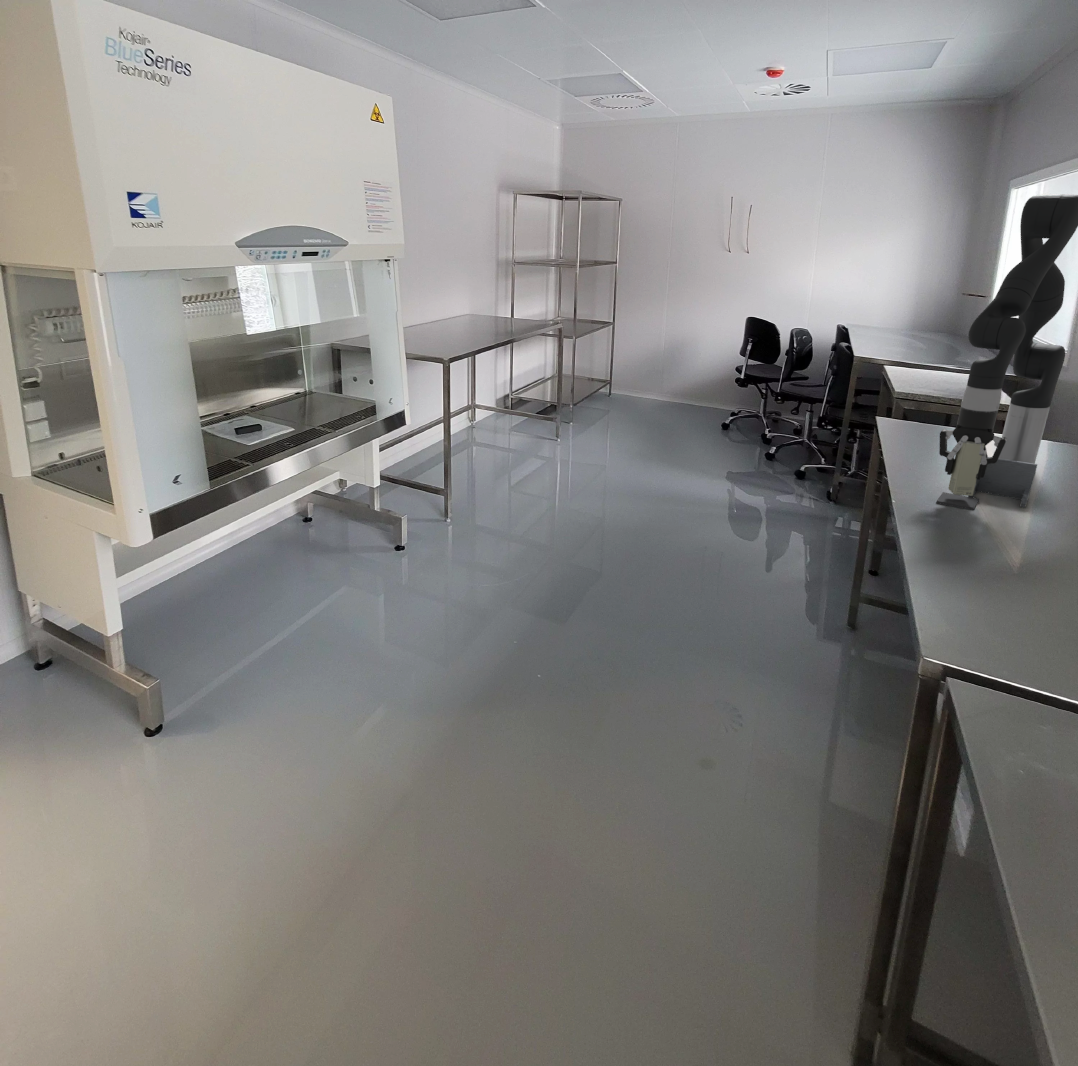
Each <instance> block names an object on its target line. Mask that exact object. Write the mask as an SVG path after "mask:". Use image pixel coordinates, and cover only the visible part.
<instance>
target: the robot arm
mask: <svg viewBox="0 0 1078 1066" xmlns="http://www.w3.org/2000/svg"><path fill="white" fill-rule="evenodd" d="M1077 229H1078V194H1072V193H1071V194H1068V193H1067V194H1057V193H1056V194H1037V195H1033V196H1031V197H1029V198H1028V199H1027V201H1026V202H1025V203H1024V206H1023V209H1022V212H1021V218H1020V251H1021V252H1020V253H1021V261H1020V262H1019V263H1017V264H1016V265H1015V266H1014V267H1013V268H1011V270H1010V271H1008V272H1007V274H1006V276H1005V278H1004V279H1003V280H1002V282H1001V285H1000V287H999V289H998V291H997V293H996V295H995V297H994V298H993V300H992V301H991V302H990V303H989V304H987V306H986V308H984V310H983V311H982V312H981V313H980V314H979V315H977V317H976V318H975V320H974V321H973V322H972V324H971V326H970V327H969V330H968V341H969V343H970V345H971V346H972V347H974V348H979V349H987V350H995V351H998V353H997V355H996V356H995V357H993V358H982V359H976V360H974V361H973V362H972V364H971V366H970V370H969V375H968V377H967V378H968V379H967V383H966V387H965V390H964V393H963V396H962V399H961V403H960V408H959V414H958V418H957V424H956V427H955V428H954V429H951V430H950V429H949V430H947V429H946V428H945V429H942V430H941V431H940V432H939V452H938V454H939V455H940V456H941V457H944V458H946V463H945V469H944V472H946V474H947V475H949V476H951V474H952V469H953V465H954V460H955V455H956V453H957V452H958V451H959V450H960V448H961V447H962V445H963V442H966V441H971V442H975V443H976V444H981V446H980V450H981V451H980V452H979V455H982V458H981V463H980V467H979V471H978V475H977V479H978V480H980V478H983V477H984V475H985V472H986V468H987V465H988V464H991V463H993V464H994V463H996V462H997V460H998V458H1000V459H1007V460H1013V461H1020V462H1027V463H1034V464H1036V460H1037V457H1038V454H1039V449H1040V446H1041V442H1042V438H1043V434H1044V432H1045V427H1046V422H1047V420H1048V416H1049V412H1050V408H1051V404H1052V401H1053V397H1054V394H1055V390H1056V387H1057V384H1058V380H1059V377H1060V375H1061V371H1062V369H1063V367H1064V366H1063V365H1064V362H1065V358H1066V349H1065V347H1064V346H1062V345H1057V344H1050V343H1037V342H1034V337H1035V336H1036V335H1037V334H1038V332H1039V331H1040V330H1041V329H1042V328H1043V327H1044V326H1045V325H1046V324H1048V323H1049V322H1050V321H1051V320H1052V319H1053V318H1054V317H1055V316H1056V315H1057V314H1058V313H1059V311H1060V310H1061V308H1062V306H1063V304H1064V297H1065V296H1064V295H1065V287H1066V286H1065V285H1066V281H1065V278H1064V277H1065V276H1064V275H1063V273H1062V271H1061V270H1060V268H1059V267H1058V266H1057V264H1056V263H1055V262H1056V260H1057V259H1058V257H1059V256H1060V254H1062V252H1063V250H1064V249H1065V247H1066V246H1067V244H1068V243H1069V241H1070V240H1071V239H1072V237H1073V235H1074V234H1075V232H1076V231H1077ZM1043 239H1047V240H1046V241H1045V242H1044V241H1043ZM1012 359H1013V363H1012V370H1013V371H1012V372H1013V374H1014V376H1016V377H1018V378H1021V379H1028V380H1029V379H1030V380H1036V381H1037V380H1038V381H1041V382H1040V383H1039V385H1037V386H1036V387H1033V388H1028V389H1022V390H1018V391H1015V392H1013V393H1012V395H1011V397H1010V403H1009V407H1008V410H1007V415H1006V418H1005V422H1004V427H1003V430H1002V434H1001V436H997V435H995V432H994V429H995V425H996V421H997V416H998V413H999V408H1000V404H1001V398H1002V391H1003V390H1002V389H1003V386H1004V382H1005V378H1006V375H1007V370H1008V368H1009V365H1010V363H1011V361H1012ZM951 436H953V438H954V440H955V441H956V445H954V447H953V448H952V450H951V451H949V450H948V440H949V439H951ZM992 441H993V442H994V443H993V445H994V447H996V448H995V450H994V452H993V455H992V456H988V452H987V447H986V446H987V445H988V444H990V443H991V442H992ZM982 443H984V444H985V445H984V449H983V445H982ZM988 457H989V458H988Z"/></svg>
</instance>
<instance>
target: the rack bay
mask: <svg viewBox="0 0 1078 1066" xmlns="http://www.w3.org/2000/svg"><path fill="white" fill-rule="evenodd" d="M989 457H990V456H988V458H989ZM980 463H981V462H980ZM1037 468H1038V464H1037V463H1035V464H1034V463H1027V462H1020V461H1013V460H1007V459H1000V458H998V460H997V462H996V463H994V464H993V463H991V464H988V465H987V468H986V472H985V475H984V477H983V478H980V480H978V479H976V484H975V488H974V492H973V496H967V497H973V498H975V495H976V494H977V493H983V494H989V495H994V496H1000V497H1004V498H1005V497H1006V498H1011V499H1016V500H1021V502H1020V506H1019V508H1023V509H1024V508H1026V505H1027V503H1028V500H1029V496H1030V494H1031V489H1032V487H1033V486H1032V485H1033V482H1034V479H1035V475H1036V473H1037V472H1036V471H1037Z"/></svg>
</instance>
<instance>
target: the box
mask: <svg viewBox="0 0 1078 1066" xmlns="http://www.w3.org/2000/svg"><path fill="white" fill-rule="evenodd" d="M982 445H983V449H984V445H985V444H984V443H982ZM980 446H981V444H976V443H975V442H971V441H966V442H963V445H962V447H961V448H960V450H959V451H958V452H957V453H956V455H955V456H954V458H955V460H954V465H953V469H952V473H951V475H950V479H949V483H948V487H947V488H948V490H949V491H950V492H951V494H955V495H962V496H967V497H968V496H973V492H974V488H975V484H976V479H977V475H978V471H979V467H980V462H981V458H982V455H979V452H980V451H981V450H980Z"/></svg>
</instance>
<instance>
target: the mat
mask: <svg viewBox="0 0 1078 1066" xmlns="http://www.w3.org/2000/svg"><path fill="white" fill-rule="evenodd" d="M979 501H980V498H979V497H968V496H966V495H955V494H953V493H952V492H951V493H949V492H944V491H943V492H942V493H941V494H940V495H939V497H938V499H937V500H936V501H935V503H936V504H937V505H938V504H939V505H943V506H950V507H954V508H960V509H965V510H972V511H974V510H975V509H976V507H977V505H978V503H979Z"/></svg>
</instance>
